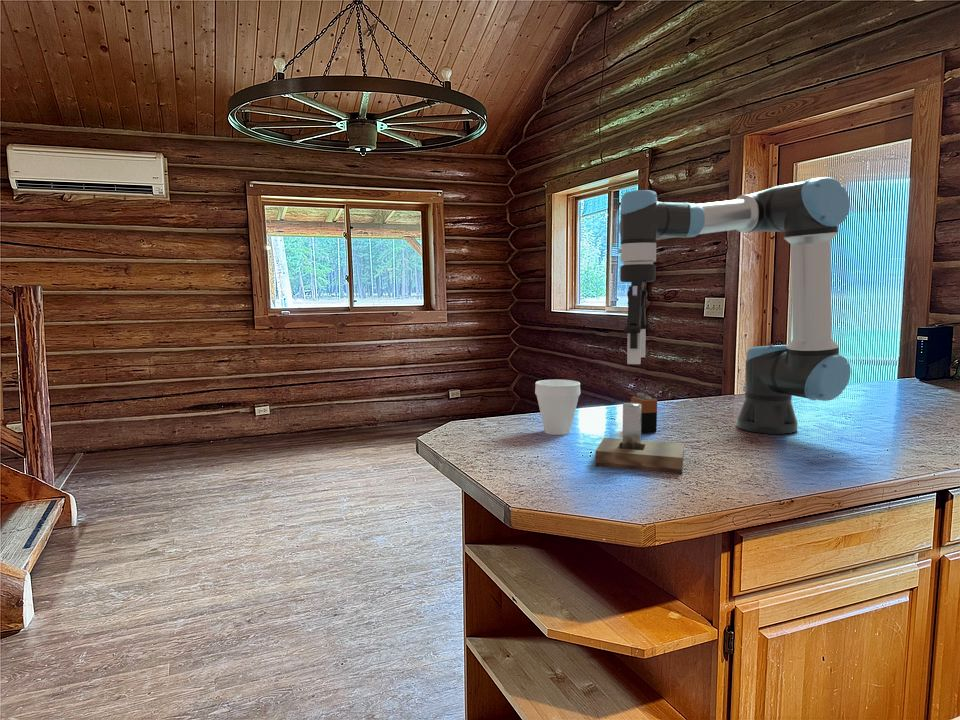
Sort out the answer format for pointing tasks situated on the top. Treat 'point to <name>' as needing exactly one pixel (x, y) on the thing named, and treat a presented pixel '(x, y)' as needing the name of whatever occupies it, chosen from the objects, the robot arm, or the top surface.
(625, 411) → the pin
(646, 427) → the battery
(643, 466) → the bore block
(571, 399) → the cup
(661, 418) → the top surface
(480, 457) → the top surface
